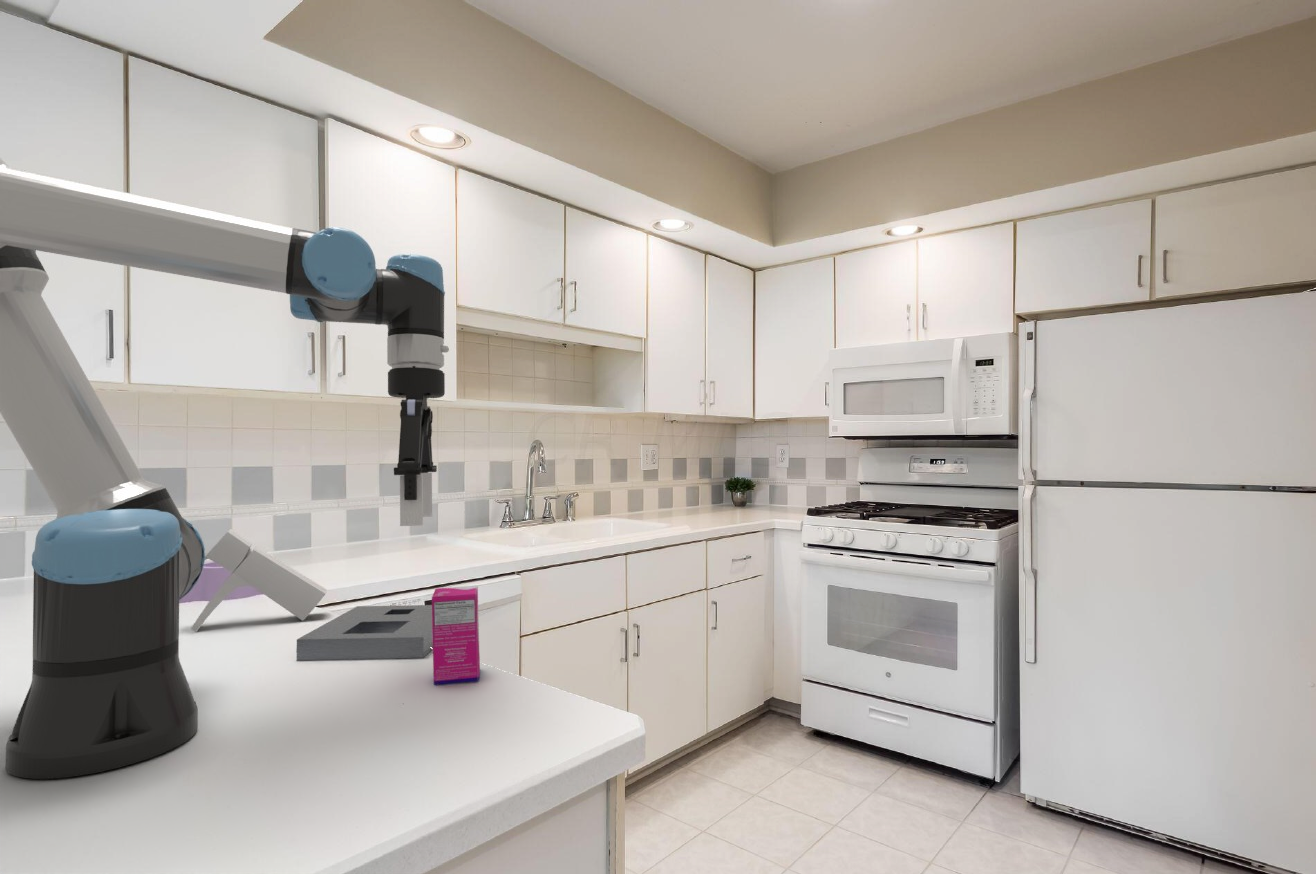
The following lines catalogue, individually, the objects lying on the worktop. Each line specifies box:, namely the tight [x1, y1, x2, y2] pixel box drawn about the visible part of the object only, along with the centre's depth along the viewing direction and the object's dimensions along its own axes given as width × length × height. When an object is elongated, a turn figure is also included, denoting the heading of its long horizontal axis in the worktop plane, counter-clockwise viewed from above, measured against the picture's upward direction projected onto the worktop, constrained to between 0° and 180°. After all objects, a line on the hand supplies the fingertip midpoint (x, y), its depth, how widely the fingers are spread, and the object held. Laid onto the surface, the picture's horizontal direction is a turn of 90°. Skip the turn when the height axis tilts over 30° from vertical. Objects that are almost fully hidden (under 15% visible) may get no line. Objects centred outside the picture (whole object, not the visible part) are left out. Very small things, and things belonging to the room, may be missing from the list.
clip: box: [179, 561, 264, 604], centre depth 146 cm, size 20×12×7 cm, turn 124°
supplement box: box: [431, 585, 481, 686], centre depth 91 cm, size 6×6×12 cm
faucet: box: [191, 528, 327, 633], centre depth 121 cm, size 6×16×20 cm
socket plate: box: [296, 604, 433, 662], centre depth 111 cm, size 22×18×3 cm
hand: (417, 521), depth 96 cm, fingers open, 13 cm apart
